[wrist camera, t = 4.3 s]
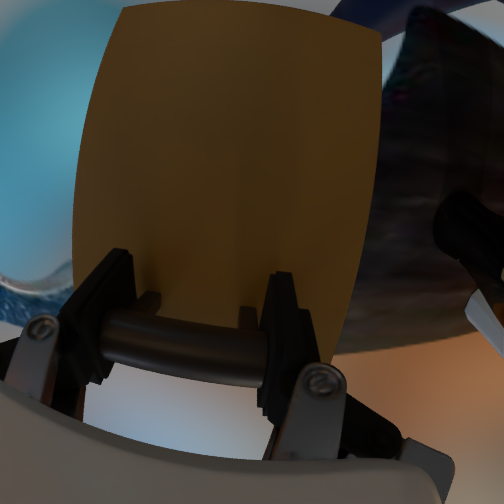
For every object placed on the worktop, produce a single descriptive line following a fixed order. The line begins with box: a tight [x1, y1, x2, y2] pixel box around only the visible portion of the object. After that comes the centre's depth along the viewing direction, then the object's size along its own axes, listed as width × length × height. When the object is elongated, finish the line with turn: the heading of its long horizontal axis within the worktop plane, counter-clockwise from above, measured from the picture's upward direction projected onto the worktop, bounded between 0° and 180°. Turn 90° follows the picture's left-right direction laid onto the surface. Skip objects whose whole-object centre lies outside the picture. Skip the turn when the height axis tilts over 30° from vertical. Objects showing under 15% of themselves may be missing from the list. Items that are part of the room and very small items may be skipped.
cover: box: [72, 0, 382, 388], centre depth 8 cm, size 16×13×5 cm
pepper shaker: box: [465, 288, 504, 359], centre depth 18 cm, size 5×5×11 cm
